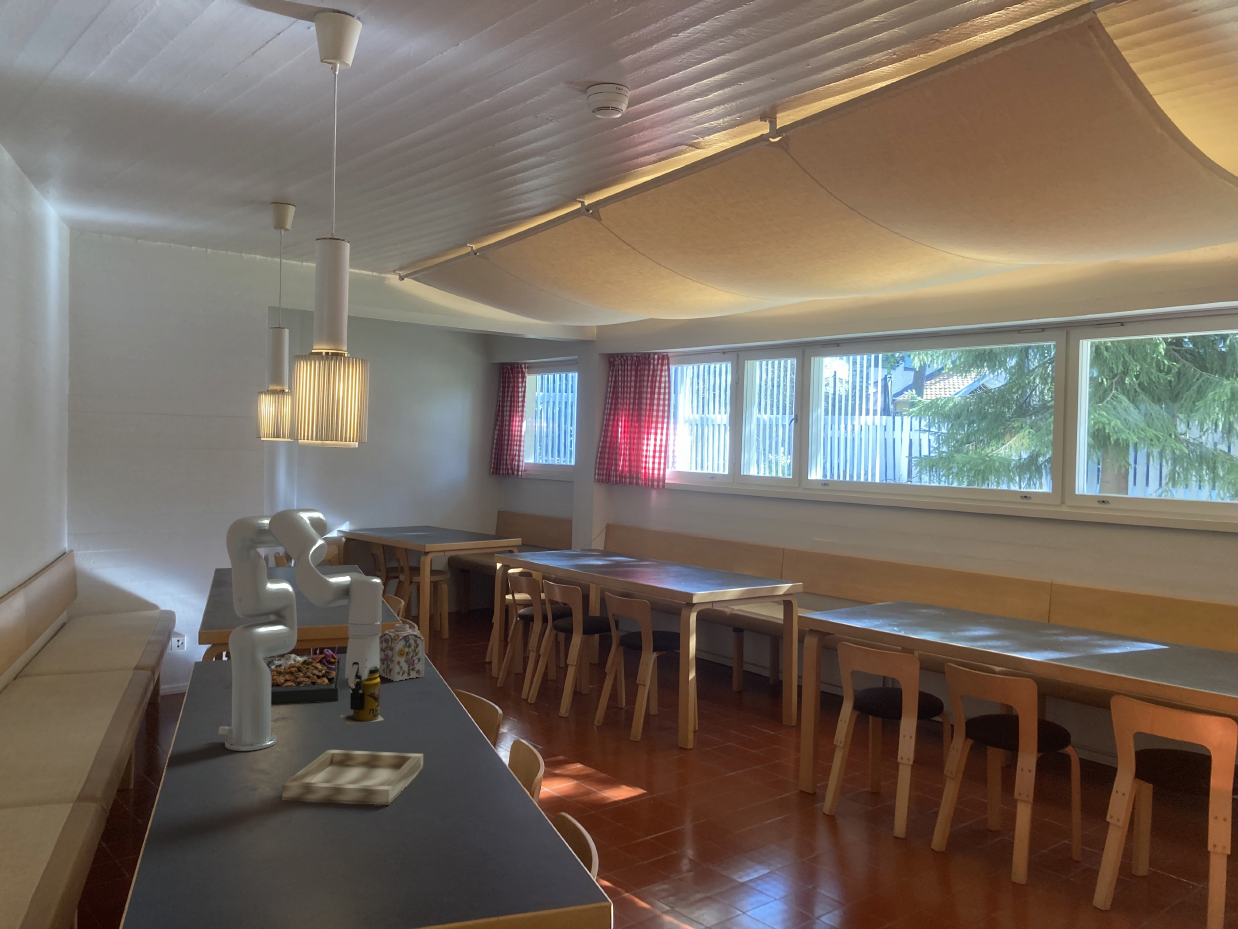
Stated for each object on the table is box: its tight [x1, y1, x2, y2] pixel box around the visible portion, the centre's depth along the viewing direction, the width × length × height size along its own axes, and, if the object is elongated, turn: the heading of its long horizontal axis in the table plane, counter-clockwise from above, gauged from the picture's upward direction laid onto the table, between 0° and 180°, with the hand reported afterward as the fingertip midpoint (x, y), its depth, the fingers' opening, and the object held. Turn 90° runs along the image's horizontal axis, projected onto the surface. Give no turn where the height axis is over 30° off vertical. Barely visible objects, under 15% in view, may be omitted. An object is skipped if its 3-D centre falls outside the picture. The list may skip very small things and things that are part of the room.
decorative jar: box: [379, 623, 425, 682], centre depth 308 cm, size 12×12×18 cm
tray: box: [281, 749, 424, 806], centre depth 205 cm, size 24×24×4 cm
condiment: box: [340, 667, 385, 725], centre depth 209 cm, size 7×8×12 cm
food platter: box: [265, 645, 342, 706], centre depth 294 cm, size 45×25×10 cm, turn 16°
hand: (363, 704), depth 209 cm, fingers closed on condiment, 6 cm apart
